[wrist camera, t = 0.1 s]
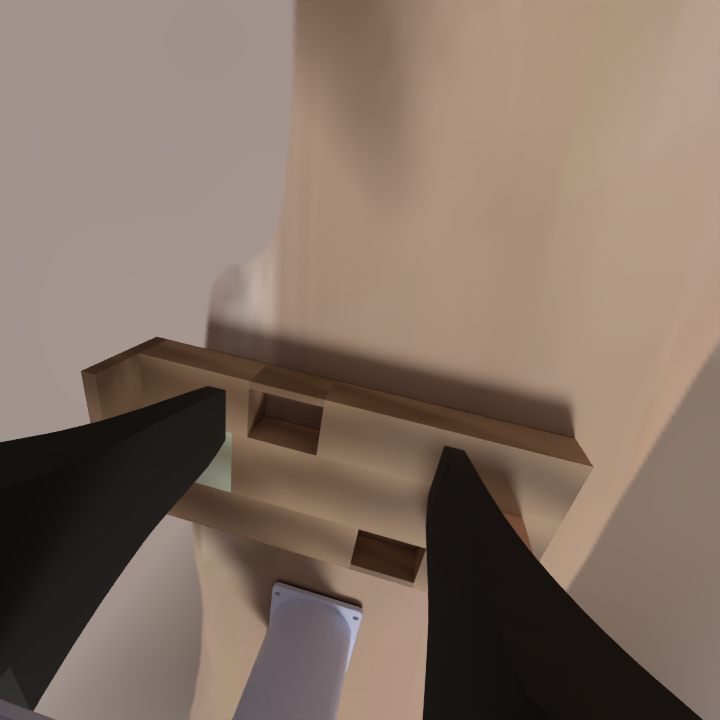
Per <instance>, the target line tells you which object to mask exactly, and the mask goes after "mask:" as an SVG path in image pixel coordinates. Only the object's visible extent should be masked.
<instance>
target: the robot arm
mask: <svg viewBox="0 0 720 720" xmlns="http://www.w3.org/2000/svg"><path fill="white" fill-rule="evenodd" d="M225 441H226V390H223V389H219V388H215V387H211V386H206V387H203V388H199V389H196V390H193V391H190V392H187V393H184V394H181V395H178V396H175V397H172V398H170V399H167V400H164V401H161V402H158V403H155V404H152V405H149V406H146V407H143V408H140V409H137V410H134V411H131V412H128V413H124V414H121V415H118V416H115V417H111V418H108V419H105V420H101V421H98V422H94V423H90V424H87V425H83V426H79V427H74V428H70V429H66V430H62V431H57V432H53V433H48V434H43V435H37V436H32V437H26V438H21V439H16V440H10V441H5V442H0V720H55V719H52V718H49V717H47V716H44V715H41V714H39V713H36V712H33V711H34V709H35V707H36V706H37V704H38V702H39V700H40V699H41V697H42V695H43V694H44V692H45V690H46V689H47V687H48V686H49V684H50V682H51V680H52V679H53V677H54V676H55V674H56V673H57V671H58V669H59V668H60V666H61V664H62V663H63V661H64V659H65V658H66V656H67V654H68V653H69V651H70V650H71V648H72V646H73V645H74V643H75V642H76V640H77V639H78V637H79V636H80V634H81V633H82V631H83V629H84V628H85V626H86V625H87V623H88V622H89V620H90V619H91V617H92V616H93V614H94V612H95V611H96V609H97V608H98V606H99V605H100V603H101V602H102V600H103V599H104V597H105V596H106V595H107V593H108V592H109V590H110V589H111V587H112V586H113V584H114V583H115V582H116V580H117V579H118V577H119V576H120V574H121V573H122V572H123V570H124V569H125V567H126V566H127V564H128V563H129V562H130V560H131V559H132V558H133V556H134V555H135V553H136V552H137V551H138V549H139V548H140V547H141V545H142V544H143V542H144V541H145V540H146V538H147V537H148V536H149V534H150V533H151V532H152V530H153V529H154V528H155V527H156V526H157V525H158V523H159V522H160V521H161V520H162V519H163V518H164V517H165V515H166V514H167V513H168V512H169V511H170V510H171V509H172V507H173V506H174V505H175V504H176V503H177V502H178V501H179V500H180V498H181V497H182V496H183V495H184V494H185V493H186V492H187V490H188V489H189V488H190V487H191V486H192V485H193V484H194V483H195V481H196V480H197V479H198V478H199V477H200V476H201V474H202V473H203V472H204V471H205V470H206V469H207V467H208V466H209V465H210V463H211V462H212V460H213V459H214V458H215V456H216V455H217V453H218V452H219V450H220V448H221V447H222V445H223V444H224V442H225ZM426 555H427V580H428V640H427V660H426V676H425V692H424V708H423V720H702V719H701V718H700V717H699V716H698V715H697V714H695V713H694V712H693V711H692V710H691V709H690V708H689V707H688V706H686V705H685V704H684V703H683V702H682V701H680V700H679V699H678V698H677V697H676V696H675V695H674V694H673V693H671V692H670V691H669V690H668V689H667V688H666V687H664V686H663V685H662V684H661V683H660V682H659V681H657V680H656V679H655V678H654V677H653V676H652V675H651V674H649V673H648V672H647V671H646V670H645V669H644V668H643V667H641V666H640V665H639V664H638V663H637V662H636V661H635V660H634V659H633V658H632V657H631V656H629V655H628V654H627V653H626V652H625V651H624V650H623V649H622V648H621V647H620V646H619V645H618V644H617V643H616V642H615V641H614V640H613V639H612V638H610V636H608V635H607V634H606V633H605V632H604V631H603V630H602V629H601V628H600V627H599V626H598V625H597V624H596V623H595V622H594V621H593V620H592V619H591V618H590V617H589V616H588V615H587V614H586V613H585V612H584V611H583V610H582V609H581V608H580V607H579V605H577V604H576V602H575V601H574V600H573V599H572V598H571V597H570V596H569V595H568V594H567V593H566V592H565V590H564V589H563V588H562V587H561V586H560V585H559V584H558V583H557V582H556V581H555V579H554V578H553V577H552V576H551V575H550V574H549V573H548V572H547V570H546V569H545V568H544V567H543V566H542V564H541V563H540V562H539V561H538V559H537V558H536V557H535V556H534V555H533V553H532V552H531V551H530V550H529V549H528V547H527V546H526V545H525V543H524V542H523V541H522V540H521V538H520V537H519V536H518V534H517V533H516V531H515V530H514V529H513V527H512V526H511V524H510V523H509V522H508V520H507V519H506V517H505V516H504V515H503V513H502V512H501V510H500V509H499V507H498V505H497V504H496V502H495V501H494V499H493V498H492V496H491V494H490V493H489V491H488V490H487V488H486V486H485V485H484V483H483V481H482V480H481V478H480V476H479V474H478V473H477V471H476V469H475V467H474V466H473V464H472V462H471V460H470V459H469V457H468V455H467V454H466V452H465V450H461V449H457V448H453V447H449V446H445V445H444V448H443V451H442V454H441V458H440V461H439V464H438V467H437V470H436V473H435V476H434V479H433V482H432V485H431V488H430V491H429V494H428V502H427V513H426ZM362 615H363V610H362V609H361V608H360V607H357V606H354V605H351V604H348V603H345V602H341V601H338V600H335V599H332V598H328V597H325V596H322V595H319V594H316V593H312V592H309V591H306V590H303V589H299V588H296V587H293V586H290V585H287V584H283V583H280V582H276V583H275V584H274V586H273V590H272V600H271V610H270V620H269V627H268V630H267V633H266V635H265V638H264V640H263V643H262V645H261V648H260V650H259V653H258V655H257V658H256V660H255V663H254V666H253V668H252V671H251V673H250V676H249V678H248V681H247V683H246V686H245V688H244V691H243V694H242V696H241V699H240V701H239V704H238V706H237V709H236V711H235V714H234V716H233V719H232V720H336V716H337V711H338V706H339V701H340V695H341V690H342V685H343V679H344V674H345V671H346V670H347V668H348V664H349V661H350V657H351V654H352V650H353V647H354V643H355V640H356V637H357V633H358V630H359V626H360V623H361V619H362Z"/></svg>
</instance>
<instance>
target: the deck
mask: <svg viewBox="0 0 720 720" xmlns="http://www.w3.org/2000/svg"><path fill="white" fill-rule="evenodd" d="M81 373H82V379H83V384H84V390H85V396H86V401H87V406H88V412H89V417H90V423H94V422H98V421H101V420H105V419H108V418H111V417H115V416H118V415H121V414H124V413H128V412H131V411H134V410H137V409H140V408H143V407H146V406H149V405H152V404H155V403H158V402H161V401H164V400H167V399H170V398H172V397H175V396H178V395H181V394H184V393H187V392H190V391H193V390H196V389H199V388H203V387H206V386H211V387H215V388H219V389H223V390H226V441H225V442H224V444H223V445H222V447H221V448H220V450H219V452H218V453H217V455H216V456H215V458H214V459H213V460H212V462H211V463H210V465H209V466H208V467H207V469H206V470H205V471H204V472H203V473H202V474H201V476H200V477H199V478H198V479H197V480H196V481H195V483H194V484H193V485H192V486H191V487H190V488H189V489H188V490H187V492H186V493H185V494H184V495H183V496H182V497H181V498H180V500H179V501H178V502H177V503H176V504H175V505H174V506H173V507H172V509H171V510H170V511H169V512H168V513H167V514H168V515H171V516H175V517H178V518H181V519H185V520H188V521H191V522H195V523H198V524H201V525H205V526H208V527H211V528H215V529H218V530H221V531H225V532H228V533H231V534H235V535H238V536H241V537H245V538H248V539H251V540H255V541H258V542H261V543H265V544H268V545H271V546H275V547H278V548H281V549H285V550H288V551H291V552H295V553H298V554H301V555H305V556H308V557H311V558H315V559H318V560H321V561H325V562H328V563H331V564H335V565H338V566H341V567H345V568H348V569H351V570H355V571H358V572H361V573H365V574H368V575H371V576H375V577H378V578H381V579H385V580H388V581H391V582H395V583H398V584H401V585H405V586H408V587H411V588H415V589H418V590H421V591H425V592H428V580H427V555H426V513H427V502H428V494H429V491H430V488H431V485H432V482H433V479H434V476H435V473H436V470H437V467H438V464H439V461H440V458H441V454H442V451H443V448H444V445H445V446H449V447H453V448H457V449H461V450H465V452H466V454H467V455H468V457H469V459H470V460H471V462H472V464H473V466H474V467H475V469H476V471H477V473H478V474H479V476H480V478H481V480H482V481H483V483H484V485H485V486H486V488H487V490H488V491H489V493H490V494H491V496H492V498H493V499H494V501H495V502H496V504H497V505H498V507H499V509H500V510H501V512H502V513H505V514H509V515H513V516H516V517H520V518H523V521H524V524H525V527H526V531H527V534H528V537H529V541H530V544H531V547H532V551H533V554H534V556H535V557H536V558H537V559H538V561H540V559H541V557H542V556H543V554H544V552H545V550H546V549H547V547H548V545H549V543H550V542H551V540H552V538H553V536H554V535H555V533H556V531H557V530H558V528H559V526H560V524H561V523H562V521H563V519H564V517H565V516H566V514H567V512H568V510H569V509H570V507H571V505H572V503H573V502H574V500H575V498H576V497H577V495H578V493H579V491H580V490H581V488H582V486H583V484H584V483H585V481H586V479H587V477H588V476H589V474H590V472H591V470H592V469H593V466H592V464H591V463H590V461H589V459H588V458H587V456H586V455H585V453H584V452H583V450H582V448H581V447H580V445H579V444H578V442H577V440H576V439H574V438H570V437H566V436H562V435H558V434H554V433H550V432H546V431H541V430H537V429H533V428H529V427H525V426H521V425H517V424H513V423H509V422H504V421H500V420H496V419H492V418H488V417H484V416H480V415H476V414H472V413H467V412H463V411H459V410H455V409H451V408H447V407H443V406H439V405H435V404H431V403H426V402H422V401H418V400H414V399H410V398H406V397H402V396H398V395H394V394H389V393H385V392H381V391H377V390H373V389H369V388H365V387H361V386H357V385H352V384H348V383H344V382H340V381H336V380H332V379H328V378H324V377H320V376H316V375H311V374H307V373H303V372H299V371H295V370H291V369H287V368H283V367H279V366H274V365H270V364H266V363H262V362H258V361H254V360H250V359H246V358H242V357H237V356H233V355H229V354H225V353H221V352H217V351H213V350H209V349H205V348H200V347H196V346H192V345H188V344H184V343H180V342H176V341H172V340H167V339H164V338H159V337H155V338H153V339H151V340H149V341H146V342H144V343H142V344H140V345H138V346H135V347H133V348H131V349H129V350H126V351H124V352H122V353H120V354H118V355H115V356H113V357H111V358H109V359H107V360H105V361H102V362H100V363H98V364H96V365H94V366H91V367H89V368H87V369H85V370H82V371H81ZM266 393H269V394H273V395H276V396H280V397H284V398H288V399H292V400H296V401H300V402H304V403H308V404H312V405H316V406H320V407H324V408H323V415H322V421H321V428H320V430H317V429H313V428H309V427H305V426H301V425H297V424H293V423H290V422H286V421H282V420H278V419H274V418H270V417H267V416H265V400H266ZM359 529H360V530H363V531H367V532H370V533H374V534H377V535H380V536H384V537H387V538H391V539H394V540H398V541H401V542H405V543H408V544H412V545H415V546H417V548H416V551H413V550H410V549H407V548H403V547H400V546H396V545H393V544H389V543H386V542H382V541H379V540H375V539H372V538H368V537H365V536H361V535H358V530H359Z"/></svg>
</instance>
